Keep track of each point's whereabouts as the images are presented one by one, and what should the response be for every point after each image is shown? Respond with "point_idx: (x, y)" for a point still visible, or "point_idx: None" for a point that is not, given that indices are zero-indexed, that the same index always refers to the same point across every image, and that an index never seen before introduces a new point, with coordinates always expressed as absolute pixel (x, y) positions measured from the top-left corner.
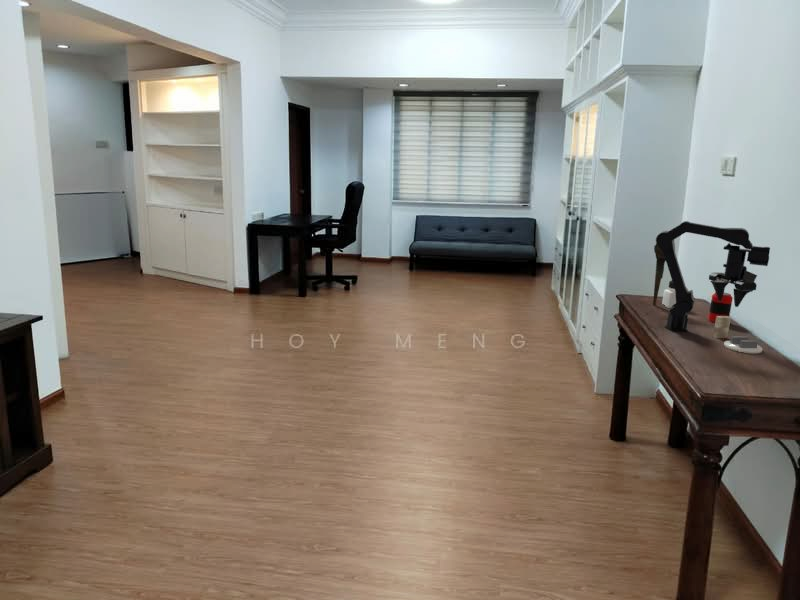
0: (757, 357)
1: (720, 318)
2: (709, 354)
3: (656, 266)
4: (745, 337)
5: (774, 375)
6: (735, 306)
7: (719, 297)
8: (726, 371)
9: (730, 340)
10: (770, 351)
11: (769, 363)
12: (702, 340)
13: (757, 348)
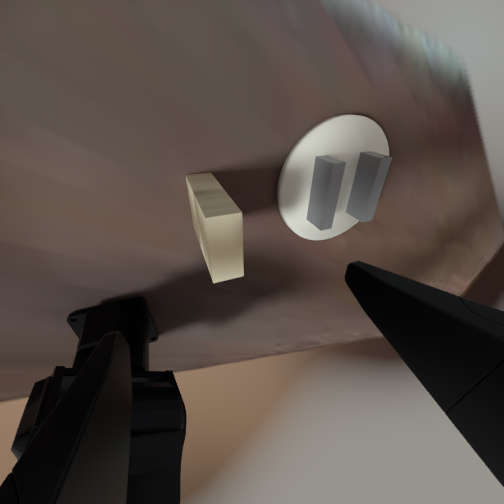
0: (399, 187)
1: (241, 268)
2: (347, 291)
3: None
4: (342, 178)
5: (466, 217)
6: (351, 280)
7: (127, 382)
8: None
9: (283, 203)
10: (383, 82)
11: (435, 182)
12: (249, 277)
13: (373, 149)
